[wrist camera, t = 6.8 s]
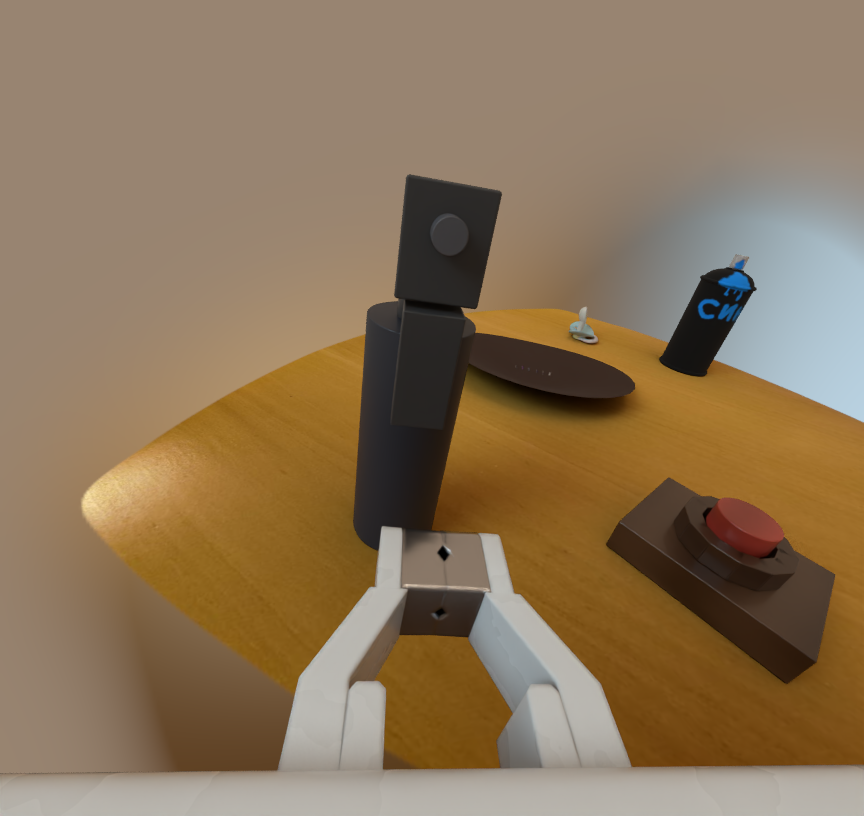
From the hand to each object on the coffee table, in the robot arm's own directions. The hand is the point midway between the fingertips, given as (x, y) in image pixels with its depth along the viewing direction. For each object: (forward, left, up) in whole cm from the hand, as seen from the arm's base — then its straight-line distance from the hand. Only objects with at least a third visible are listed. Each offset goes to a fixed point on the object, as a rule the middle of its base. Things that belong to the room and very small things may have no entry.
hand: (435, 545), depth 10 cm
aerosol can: (+13, -76, -15) cm, 79 cm away
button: (-6, -26, -10) cm, 29 cm away
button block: (-6, -26, -14) cm, 30 cm away
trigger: (+7, -5, -2) cm, 8 cm away
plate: (+24, -43, -15) cm, 52 cm away
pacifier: (+30, -68, -15) cm, 76 cm away
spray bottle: (+10, -7, -15) cm, 19 cm away
